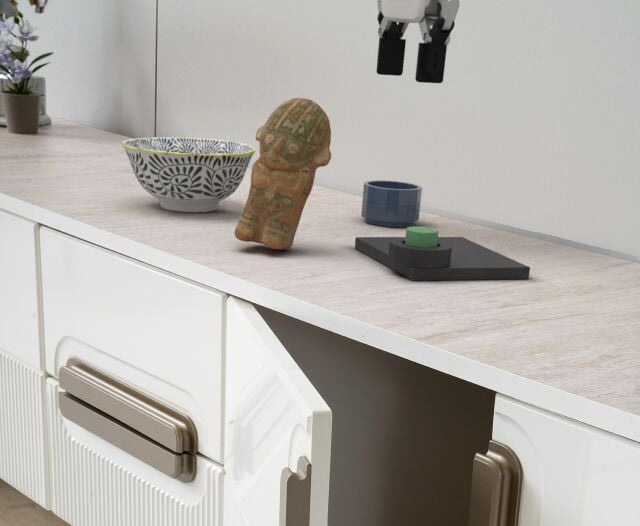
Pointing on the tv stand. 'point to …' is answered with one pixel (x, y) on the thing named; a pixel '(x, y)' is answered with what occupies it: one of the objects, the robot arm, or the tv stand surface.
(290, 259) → the tv stand surface
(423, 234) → the button
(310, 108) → the figurine
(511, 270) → the black flat block
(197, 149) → the bowl
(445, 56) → the robot arm
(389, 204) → the small bowl
